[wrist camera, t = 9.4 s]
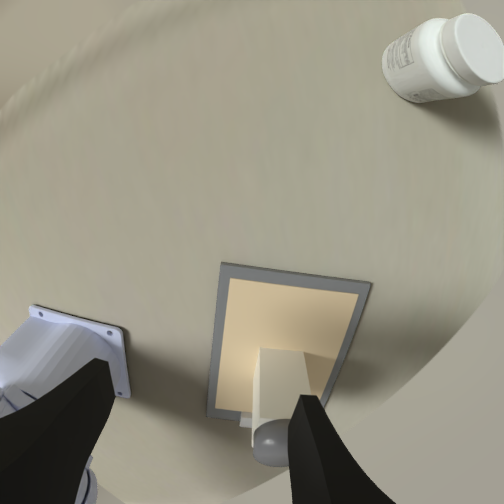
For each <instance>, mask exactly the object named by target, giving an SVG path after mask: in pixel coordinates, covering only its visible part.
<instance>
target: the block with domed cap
mask: <svg viewBox="0 0 504 504" xmlns="http://www.w3.org/2000/svg"><path fill="white" fill-rule="evenodd" d="M300 394H303V395H311V391H310V385H309V379H308V374H307V369H306V363H305V358H304V353H303V351H292V350H281V349H271V348H262V347H260V348H259V353H258V358H257V363H256V368H255V372H254V377H253V410H252V447H253V456H254V458H255V460H257V461H258V462H259V463H261V464H264V465H267V466H272V467H287V466H289V460H288V450H287V445H288V425H289V422H290V420H291V417H292V415H293V412H294V410H295V407H296V404H297V402H298V399H299V396H300Z"/></svg>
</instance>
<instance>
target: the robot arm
mask: <svg viewBox="0 0 504 504" xmlns="http://www.w3.org/2000/svg"><path fill="white" fill-rule="evenodd" d="M29 312H30V317H29V318H28V319H27V320H26V321H25V322H24V323H23V324H22V325H21V326H20V327H19V328H18V329H17V330H16V331H15V332H14V333H13V334H12V335H11V336H10V337H9V338H8V339H7V340H6V341H5V342H4V343H3V344H2V345H1V346H0V504H96V500H97V493H98V491H97V479H96V476H95V474H94V472H93V471H92V470H91V469H90V468H89V466H90V464H91V461H92V459H93V457H92V456H91V455H90V454H91V452H92V450H93V448H94V446H95V444H96V442H97V440H98V438H99V436H100V434H101V432H102V430H103V428H104V426H105V424H106V422H107V419H108V417H109V415H110V412H111V409H112V406H113V403H114V400H115V397H116V396H119V397H123V398H130V396H131V390H130V384H129V377H128V371H127V363H126V356H125V347H124V338H123V332H122V330H121V329H120V328H118V327H114V326H110V325H106V324H102V323H98V322H94V321H90V320H86V319H82V318H78V317H74V316H71V315H67V314H63V313H60V312H56V311H53V310H49V309H46V308H43V307H39V306H36V305H31V306H30V307H29ZM41 312H42V313H41ZM110 331H111V332H112V333H111V332H110ZM115 395H116V396H115ZM287 450H288V460H289V470H290V479H291V489H292V500H293V501H292V503H293V504H396V503H395V502H393V501H392V500H391V499H390V498H389V497H388V496H387V495H386V494H385V493H384V492H382V491H381V490H380V489H379V488H378V487H377V486H376V485H375V483H374V482H373V481H372V480H371V479H370V478H369V477H368V476H367V475H366V473H365V472H364V471H363V470H362V469H361V467H360V466H359V465H358V463H357V462H356V461H355V460H354V458H353V457H352V455H351V454H350V452H349V451H348V449H347V448H346V446H345V445H344V443H343V442H342V440H341V438H340V437H339V435H338V434H337V432H336V430H335V429H334V427H333V425H332V423H331V421H330V420H329V418H328V416H327V414H326V412H325V410H324V408H323V406H322V404H321V402H320V400H319V398H318V397H317V395H303V394H300V396H299V399H298V402H297V404H296V407H295V410H294V412H293V415H292V417H291V420H290V422H289V425H288V445H287Z"/></svg>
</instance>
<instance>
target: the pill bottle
mask: <svg viewBox="0 0 504 504" xmlns="http://www.w3.org/2000/svg"><path fill="white" fill-rule="evenodd" d="M382 70H383V73H384V76H385V78H386V80H387V82H388V84H389V85H390V86H391V88H392V89H393V90H394V91H395V92H396V93H397V94H398V95H399V96H401V97H402V98H404V99H406V100H408V101H411V102H416V103H423V102H430V101H436V100H444V99H451V98H459V97H465V96H470V95H472V94H474V93H475V92H477V91H478V90H479V88H480V87H481V86H486V85H491V84H496V83H499V82H501V81H502V80H503V79H504V44H503V42H502V40H501V39H500V37H499V35H498V34H497V32H496V31H495V30H494V28H493V27H492V26H491V25H490V24H489V23H488V22H487V21H485V20H484V19H483V18H481V17H479V16H477V15H475V14H469V13H465V14H461V15H459V16H456V17H454V18H451V19H450V20H448V19H444V18H434V19H430V20H428V21H426V22H424V23H422V24H421V25H419V26H417V27H416V28H414V29H412V30H411V31H409V32H408V33H406V34H405V35H403V36H401V37H400V38H398V39H397V40H395V41H394V42H392V43H391V44H390V45H388V46H387V48H386V49H385V51H384V53H383V57H382Z"/></svg>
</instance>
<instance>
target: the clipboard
mask: <svg viewBox="0 0 504 504" xmlns="http://www.w3.org/2000/svg"><path fill="white" fill-rule="evenodd" d="M370 285H371V284H370V282H367V281H359V280H351V279H343V278H335V277H328V276H320V275H312V274H305V273H297V272H290V271H282V270H275V269H268V268H260V267H253V266H246V265H239V264H232V263H225V262H221V266H220V275H219V284H218V293H217V303H216V312H215V322H214V333H213V343H212V354H211V365H210V376H209V388H208V401H207V414H206V417H211V418H218V419H225V420H234V421H240V426H239V427H248V428H252V410H253V377H254V372H255V368H256V363H257V358H258V353H259V348H260V347H262V348H271V349H281V350H292V351H303V353H304V358H305V363H306V369H307V374H308V379H309V385H310V391H311V395H317V397H318V398H319V400H320V402H321V404H322V406H323V408H324V406H325V403H326V401H327V399H328V397H329V395H330V392H331V390H332V388H333V385H334V383H335V381H336V378H337V376H338V374H339V371H340V369H341V366H342V364H343V361H344V359H345V356H346V354H347V351H348V348H349V346H350V343H351V341H352V338H353V335H354V332H355V330H356V327H357V324H358V321H359V319H360V316H361V313H362V310H363V307H364V304H365V301H366V298H367V295H368V292H369V289H370Z"/></svg>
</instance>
